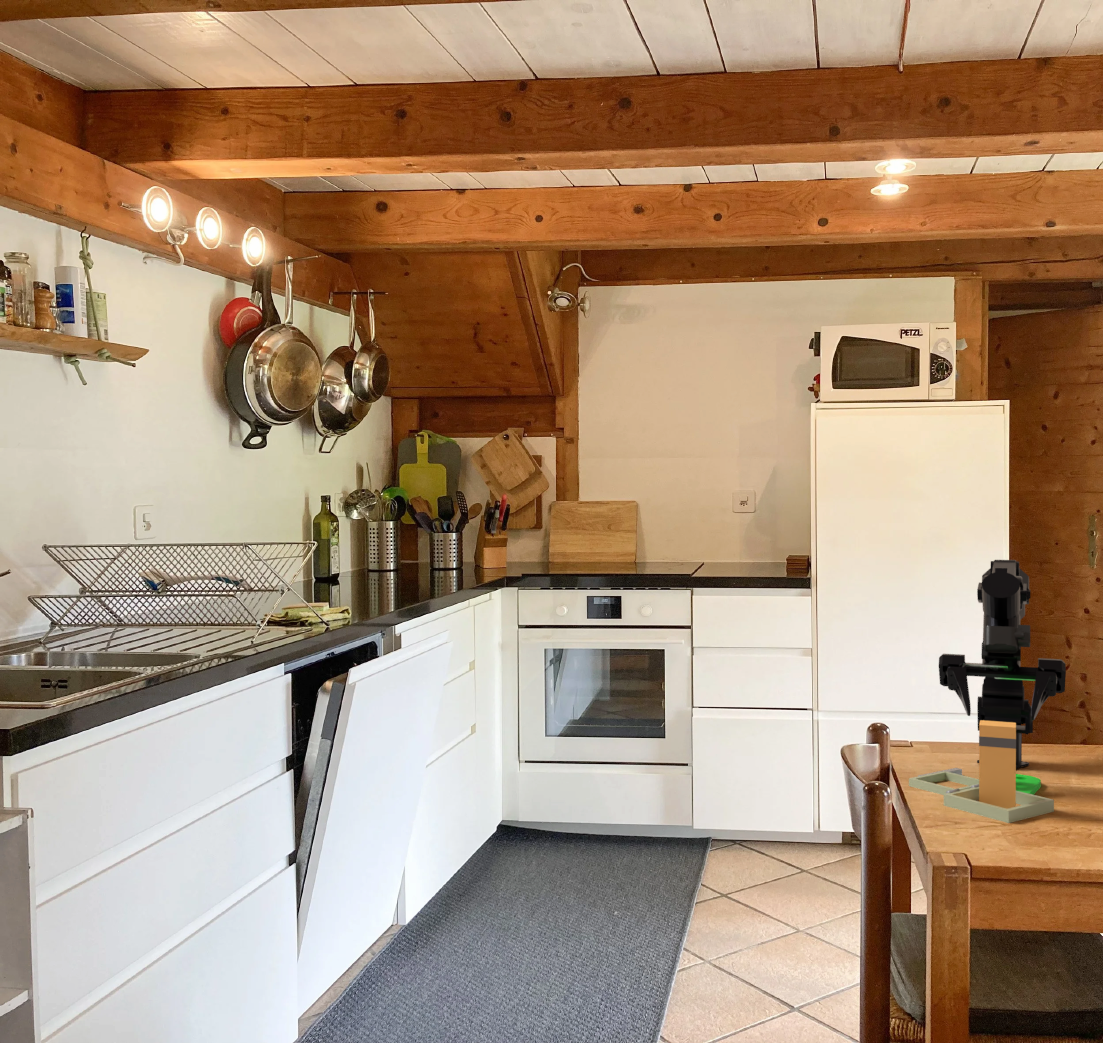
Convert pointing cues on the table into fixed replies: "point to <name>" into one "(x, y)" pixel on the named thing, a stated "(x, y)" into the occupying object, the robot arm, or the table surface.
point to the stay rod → (953, 770)
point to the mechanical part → (1027, 784)
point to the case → (1028, 808)
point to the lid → (928, 780)
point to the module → (997, 763)
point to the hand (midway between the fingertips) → (1000, 716)
